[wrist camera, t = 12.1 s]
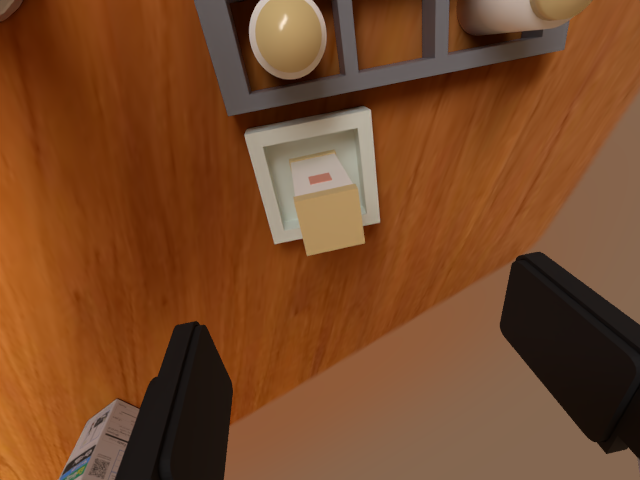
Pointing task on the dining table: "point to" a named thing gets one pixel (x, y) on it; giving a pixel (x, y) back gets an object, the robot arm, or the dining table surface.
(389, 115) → the dining table surface
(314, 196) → the block
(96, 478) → the light bulb box
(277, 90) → the holder
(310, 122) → the tray
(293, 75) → the post
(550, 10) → the post
